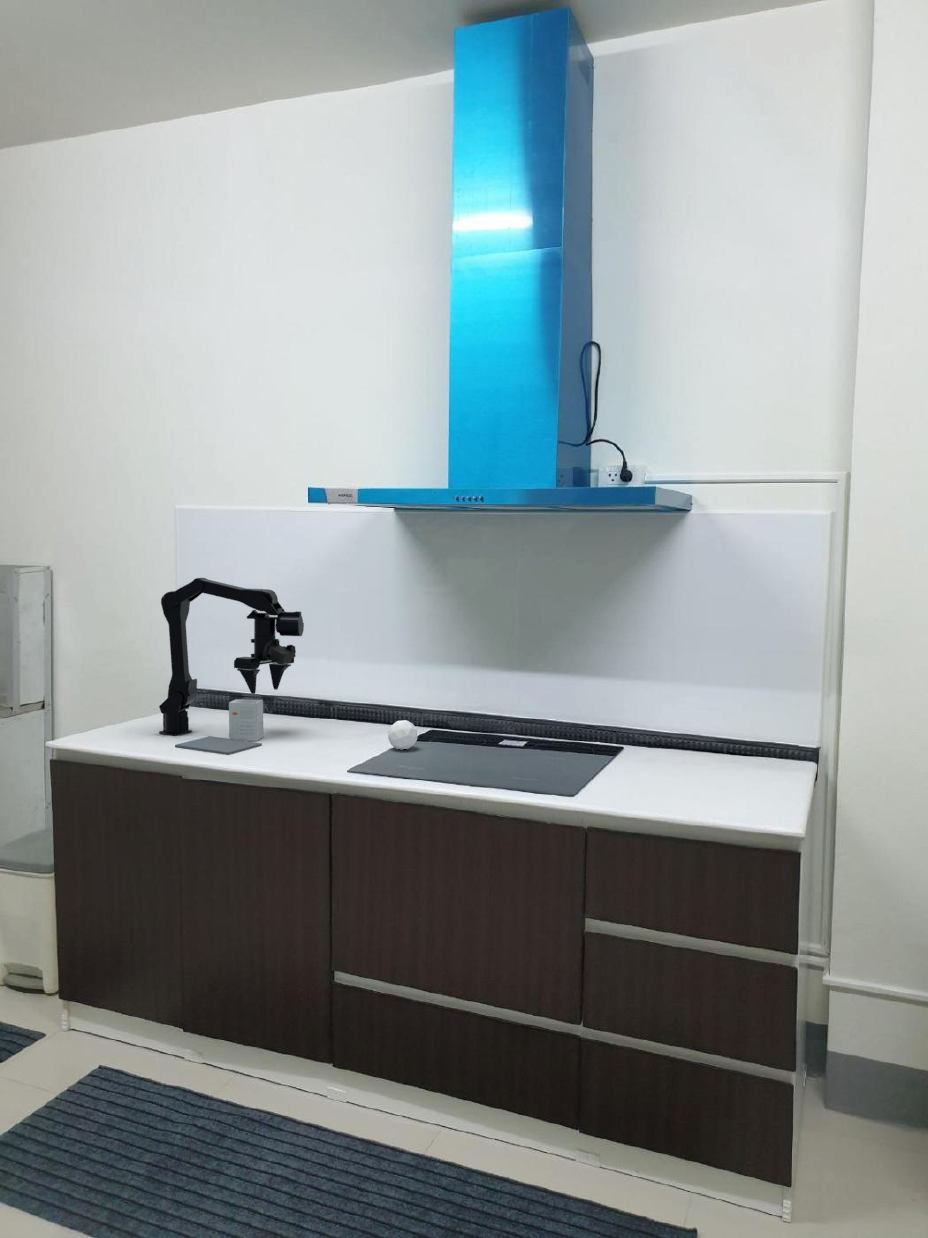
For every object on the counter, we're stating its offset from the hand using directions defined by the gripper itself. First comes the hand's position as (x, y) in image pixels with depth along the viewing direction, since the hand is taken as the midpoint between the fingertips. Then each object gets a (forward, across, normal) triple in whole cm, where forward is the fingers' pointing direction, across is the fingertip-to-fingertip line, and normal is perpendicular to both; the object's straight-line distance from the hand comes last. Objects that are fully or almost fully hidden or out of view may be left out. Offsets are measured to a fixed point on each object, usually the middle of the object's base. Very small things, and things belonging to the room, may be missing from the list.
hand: (264, 691), depth 265 cm
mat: (+12, -17, +1) cm, 21 cm away
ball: (+12, +7, -41) cm, 44 cm away
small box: (+13, -6, +1) cm, 14 cm away
